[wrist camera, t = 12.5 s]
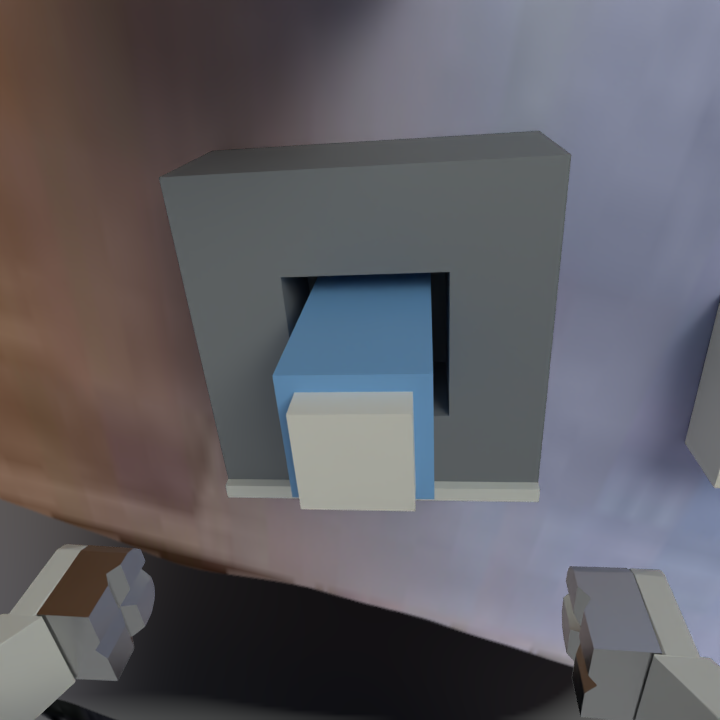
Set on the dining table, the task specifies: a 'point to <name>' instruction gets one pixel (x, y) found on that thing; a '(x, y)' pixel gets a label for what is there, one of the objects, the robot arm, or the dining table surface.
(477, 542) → the dining table surface
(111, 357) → the dining table surface
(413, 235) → the port block
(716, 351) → the white square tray
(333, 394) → the plug
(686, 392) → the dining table surface
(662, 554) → the dining table surface
